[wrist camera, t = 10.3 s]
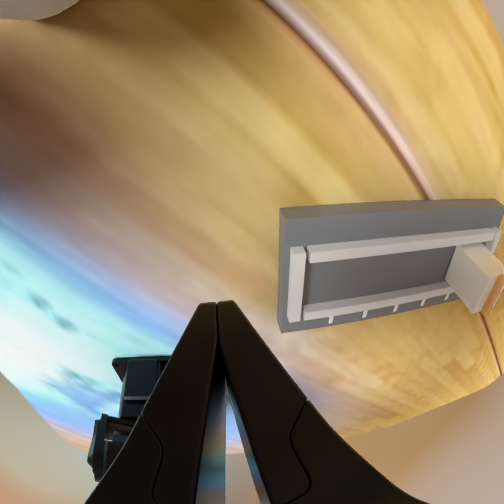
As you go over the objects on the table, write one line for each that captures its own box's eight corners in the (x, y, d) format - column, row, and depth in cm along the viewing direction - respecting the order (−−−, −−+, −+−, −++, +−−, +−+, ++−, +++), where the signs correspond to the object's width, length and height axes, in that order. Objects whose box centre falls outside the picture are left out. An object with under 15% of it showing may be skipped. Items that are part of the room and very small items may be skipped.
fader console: (463, 286, 27) (475, 300, 25) (277, 319, 26) (282, 340, 24) (494, 199, 22) (511, 211, 20) (279, 208, 20) (287, 226, 18)
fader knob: (466, 275, 24) (496, 311, 20) (444, 279, 24) (474, 319, 20) (480, 240, 22) (514, 275, 18) (457, 243, 22) (493, 281, 17)
